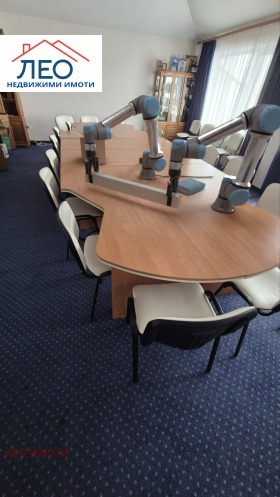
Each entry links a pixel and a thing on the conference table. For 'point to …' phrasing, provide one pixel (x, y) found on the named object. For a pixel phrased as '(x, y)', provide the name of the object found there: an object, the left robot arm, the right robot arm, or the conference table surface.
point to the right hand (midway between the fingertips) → (170, 204)
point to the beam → (134, 189)
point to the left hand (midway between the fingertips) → (93, 181)
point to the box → (99, 149)
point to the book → (190, 186)
